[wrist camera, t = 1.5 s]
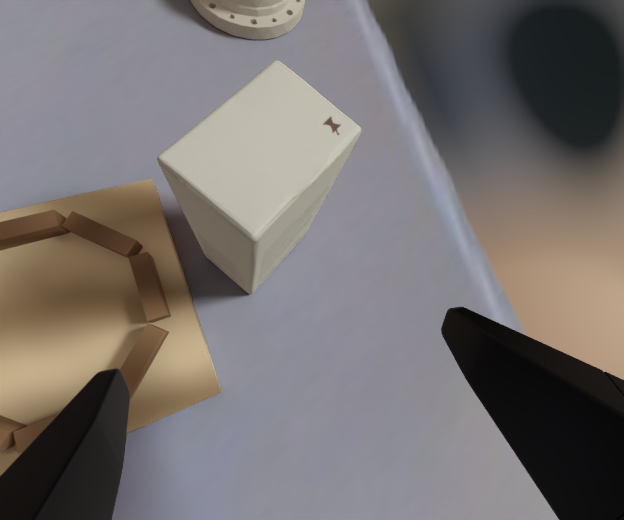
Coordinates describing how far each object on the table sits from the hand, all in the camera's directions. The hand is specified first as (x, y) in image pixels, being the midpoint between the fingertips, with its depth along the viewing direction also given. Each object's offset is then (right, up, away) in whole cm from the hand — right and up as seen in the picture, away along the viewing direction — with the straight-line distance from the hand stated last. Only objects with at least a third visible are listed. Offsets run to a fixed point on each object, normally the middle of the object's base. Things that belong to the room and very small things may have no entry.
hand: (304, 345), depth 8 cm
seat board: (-14, -1, +10) cm, 17 cm away
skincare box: (-4, +3, +13) cm, 14 cm away
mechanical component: (-6, +25, +19) cm, 32 cm away
